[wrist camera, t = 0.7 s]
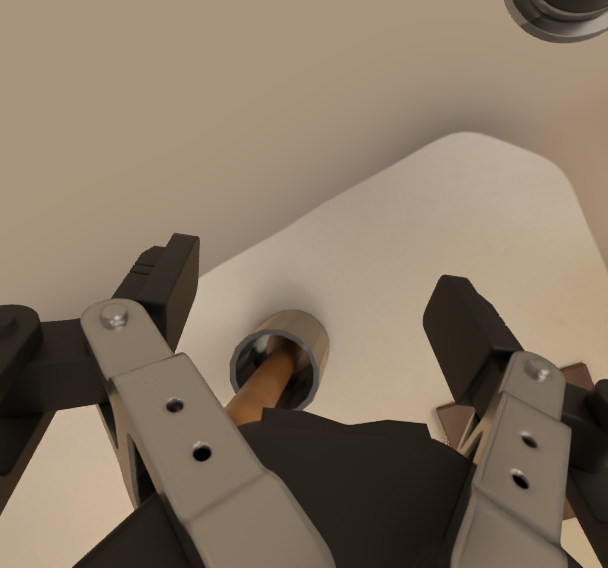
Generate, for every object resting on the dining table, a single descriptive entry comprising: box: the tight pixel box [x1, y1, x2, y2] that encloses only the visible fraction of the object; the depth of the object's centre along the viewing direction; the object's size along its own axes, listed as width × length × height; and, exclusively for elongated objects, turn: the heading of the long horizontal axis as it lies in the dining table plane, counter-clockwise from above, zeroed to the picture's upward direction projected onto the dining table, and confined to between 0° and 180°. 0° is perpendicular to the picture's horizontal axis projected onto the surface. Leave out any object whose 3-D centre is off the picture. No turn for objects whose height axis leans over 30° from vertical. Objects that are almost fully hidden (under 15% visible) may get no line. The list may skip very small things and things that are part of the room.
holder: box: [230, 310, 329, 411], centre depth 35 cm, size 7×7×9 cm
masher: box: [224, 335, 311, 426], centre depth 28 cm, size 5×5×22 cm
